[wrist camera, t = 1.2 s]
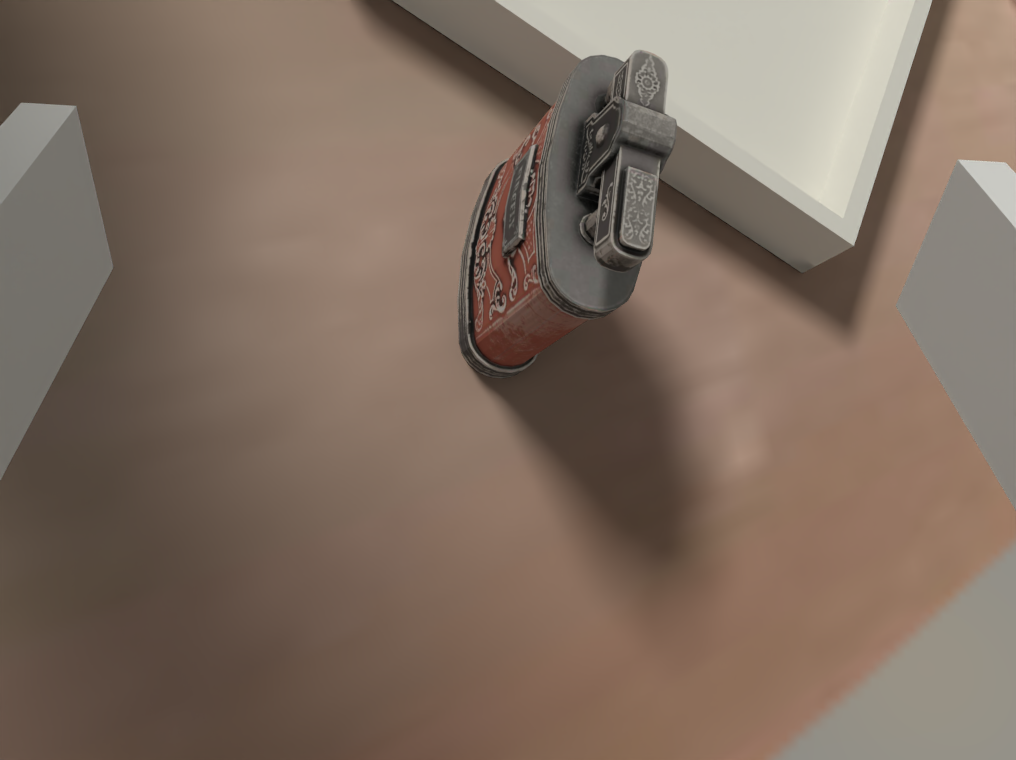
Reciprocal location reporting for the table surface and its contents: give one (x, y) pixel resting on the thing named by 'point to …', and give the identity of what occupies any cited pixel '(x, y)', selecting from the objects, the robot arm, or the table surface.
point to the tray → (732, 95)
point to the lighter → (566, 215)
